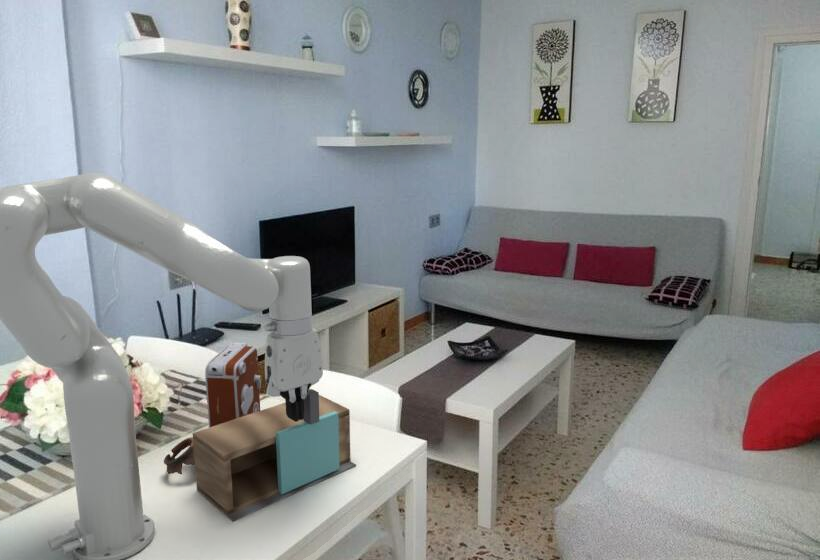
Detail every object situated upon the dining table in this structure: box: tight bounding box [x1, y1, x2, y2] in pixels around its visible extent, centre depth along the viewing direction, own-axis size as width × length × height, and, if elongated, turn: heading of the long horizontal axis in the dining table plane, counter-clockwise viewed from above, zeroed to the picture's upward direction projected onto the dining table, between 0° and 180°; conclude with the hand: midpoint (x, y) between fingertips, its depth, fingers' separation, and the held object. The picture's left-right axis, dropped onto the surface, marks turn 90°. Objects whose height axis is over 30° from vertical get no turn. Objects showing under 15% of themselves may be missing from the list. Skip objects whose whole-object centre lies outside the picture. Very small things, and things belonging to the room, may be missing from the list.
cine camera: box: [204, 342, 262, 428], centre depth 144 cm, size 9×19×20 cm, turn 174°
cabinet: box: [192, 394, 357, 522], centre depth 125 cm, size 28×14×12 cm, turn 134°
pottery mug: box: [163, 436, 195, 475], centre depth 129 cm, size 12×10×8 cm
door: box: [276, 388, 339, 494], centre depth 122 cm, size 14×2×18 cm, turn 134°
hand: (295, 418), depth 119 cm, fingers closed
